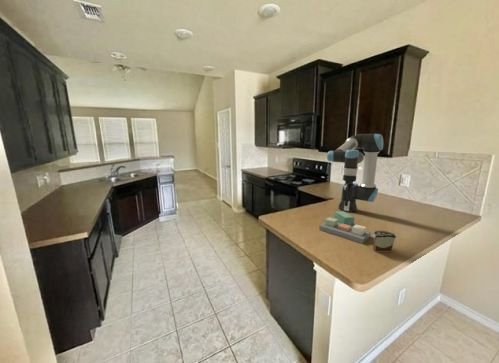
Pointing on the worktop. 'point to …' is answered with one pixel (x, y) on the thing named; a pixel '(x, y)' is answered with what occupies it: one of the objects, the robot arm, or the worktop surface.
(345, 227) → the terracotta button
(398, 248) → the worktop surface
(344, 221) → the box
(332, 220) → the sage button
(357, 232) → the pale grey block
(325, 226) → the button board
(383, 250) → the food container
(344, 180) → the robot arm
